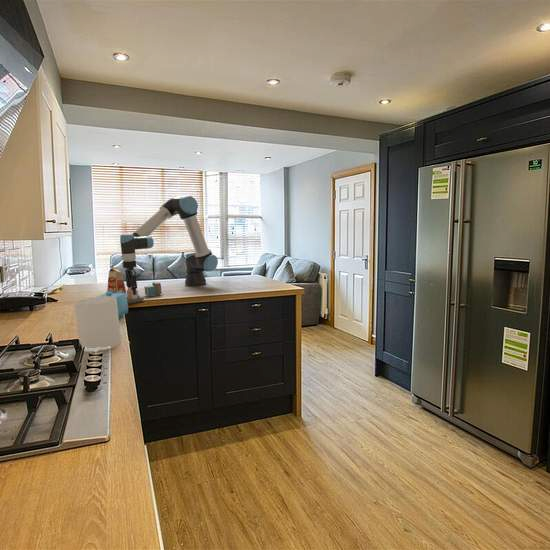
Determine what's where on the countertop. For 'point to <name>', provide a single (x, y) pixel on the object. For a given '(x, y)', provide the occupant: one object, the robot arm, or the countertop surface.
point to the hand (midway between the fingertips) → (132, 299)
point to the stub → (130, 294)
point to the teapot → (119, 302)
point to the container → (98, 322)
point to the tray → (135, 300)
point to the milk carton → (115, 281)
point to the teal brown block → (153, 289)
